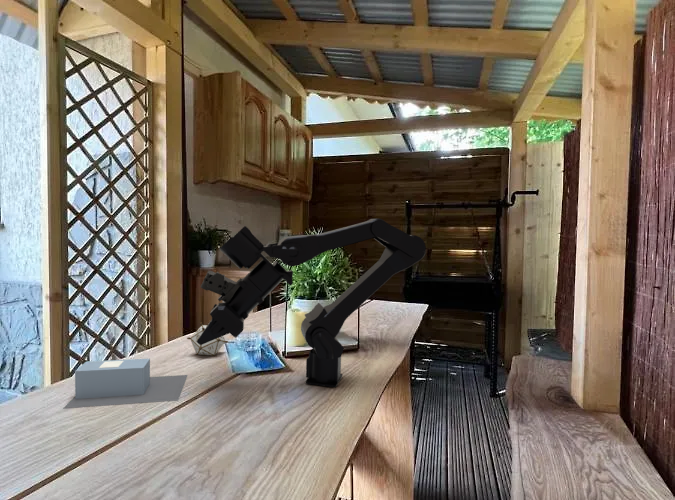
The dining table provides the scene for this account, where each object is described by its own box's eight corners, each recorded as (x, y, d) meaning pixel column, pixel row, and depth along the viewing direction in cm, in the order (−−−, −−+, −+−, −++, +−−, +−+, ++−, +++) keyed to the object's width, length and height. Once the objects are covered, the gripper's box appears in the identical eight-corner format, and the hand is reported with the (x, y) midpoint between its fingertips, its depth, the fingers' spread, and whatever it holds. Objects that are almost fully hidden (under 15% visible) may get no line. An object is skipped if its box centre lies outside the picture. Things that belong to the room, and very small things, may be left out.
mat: (187, 377, 80) (187, 374, 80) (178, 403, 69) (178, 400, 68) (90, 383, 76) (90, 380, 76) (62, 411, 64) (62, 408, 64)
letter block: (149, 358, 75) (85, 360, 72) (143, 367, 70) (74, 370, 67) (149, 383, 75) (86, 387, 73) (143, 394, 70) (74, 399, 68)
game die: (215, 369, 95) (240, 335, 97) (200, 368, 87) (228, 331, 89) (189, 347, 98) (214, 315, 100) (172, 345, 89) (200, 309, 91)
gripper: (229, 254, 84) (176, 306, 82) (223, 259, 66) (154, 326, 64) (266, 289, 86) (215, 340, 84) (269, 304, 68) (204, 370, 66)
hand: (198, 343), depth 74 cm, fingers closed
